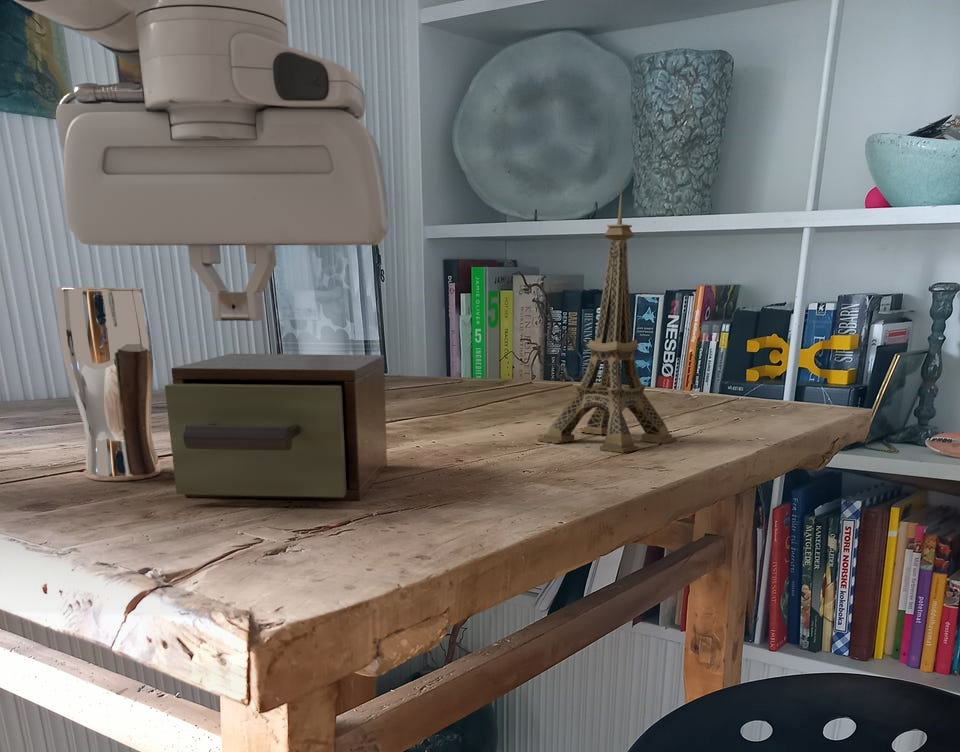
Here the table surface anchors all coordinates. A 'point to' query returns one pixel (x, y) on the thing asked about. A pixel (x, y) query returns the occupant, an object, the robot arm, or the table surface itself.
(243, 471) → the drawer
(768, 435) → the table surface
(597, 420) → the eiffel tower
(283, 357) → the cabinet
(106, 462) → the beer glass
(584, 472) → the table surface
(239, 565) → the table surface
